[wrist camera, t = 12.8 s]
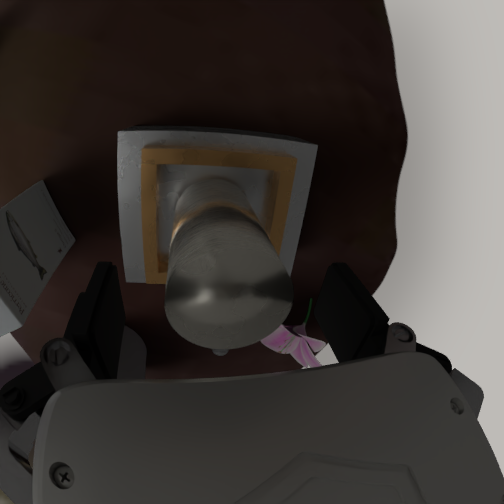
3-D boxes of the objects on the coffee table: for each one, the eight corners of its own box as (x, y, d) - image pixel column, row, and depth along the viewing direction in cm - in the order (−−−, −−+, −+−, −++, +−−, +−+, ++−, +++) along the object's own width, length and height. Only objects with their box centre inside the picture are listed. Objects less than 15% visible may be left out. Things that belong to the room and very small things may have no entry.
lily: (257, 255, 30) (232, 334, 23) (362, 278, 28) (361, 360, 22) (250, 311, 39) (231, 374, 32) (330, 329, 37) (322, 393, 31)
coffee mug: (144, 322, 30) (137, 394, 22) (148, 371, 35) (147, 433, 26) (46, 310, 27) (19, 372, 18) (64, 360, 31) (49, 417, 23)
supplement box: (78, 240, 24) (26, 330, 13) (34, 265, 23) (-16, 347, 13) (44, 176, 20) (-38, 238, 9) (2, 209, 20) (-68, 276, 9)
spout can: (176, 176, 18) (161, 247, 10) (254, 181, 19) (307, 250, 11) (174, 270, 22) (171, 374, 13) (241, 271, 23) (272, 369, 14)
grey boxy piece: (133, 125, 20) (111, 133, 14) (299, 137, 23) (331, 149, 18) (135, 252, 25) (123, 293, 20) (277, 254, 29) (298, 292, 23)
